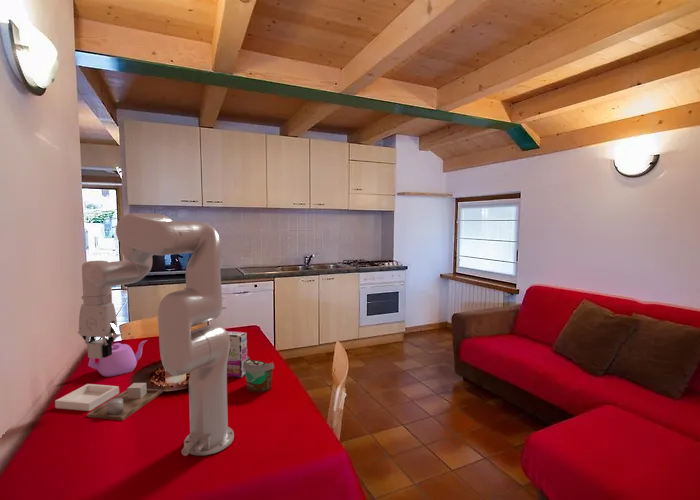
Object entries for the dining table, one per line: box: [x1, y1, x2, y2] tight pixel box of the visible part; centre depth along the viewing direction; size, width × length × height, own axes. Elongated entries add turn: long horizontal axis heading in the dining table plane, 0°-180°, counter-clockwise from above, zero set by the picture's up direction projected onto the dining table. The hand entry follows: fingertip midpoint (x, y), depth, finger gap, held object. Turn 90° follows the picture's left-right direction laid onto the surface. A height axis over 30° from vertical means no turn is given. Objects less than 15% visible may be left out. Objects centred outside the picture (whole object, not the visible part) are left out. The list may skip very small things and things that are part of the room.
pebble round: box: [106, 398, 123, 415], centre depth 112 cm, size 4×4×4 cm
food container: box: [243, 356, 275, 394], centre depth 129 cm, size 12×6×10 cm, turn 62°
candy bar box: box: [226, 330, 248, 379], centre depth 142 cm, size 11×5×16 cm, turn 76°
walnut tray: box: [86, 388, 163, 421], centre depth 118 cm, size 18×12×1 cm, turn 172°
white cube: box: [126, 382, 148, 399], centre depth 123 cm, size 4×4×4 cm
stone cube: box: [87, 338, 104, 360], centre depth 118 cm, size 4×4×4 cm
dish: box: [54, 383, 120, 412], centre depth 120 cm, size 12×12×3 cm
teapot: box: [87, 339, 148, 378], centre depth 144 cm, size 13×20×11 cm
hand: (100, 354), depth 118 cm, fingers closed on stone cube, 4 cm apart
